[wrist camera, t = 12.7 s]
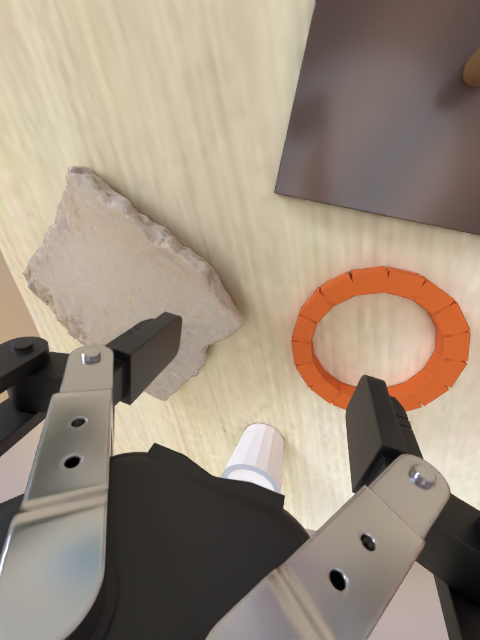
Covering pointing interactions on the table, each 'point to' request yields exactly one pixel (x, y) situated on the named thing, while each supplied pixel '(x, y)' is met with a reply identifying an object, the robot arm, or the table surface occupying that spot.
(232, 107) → the table surface
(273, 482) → the white cylinder
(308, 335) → the ring
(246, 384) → the table surface
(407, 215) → the peg board
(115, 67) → the table surface
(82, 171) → the stone slab
